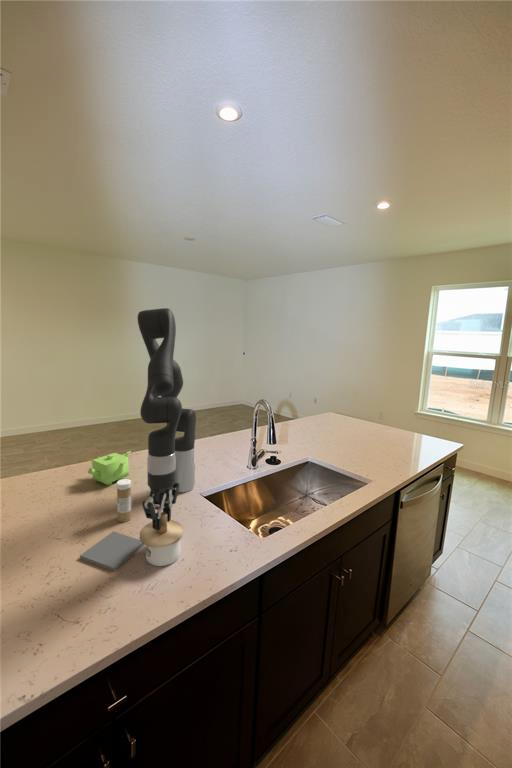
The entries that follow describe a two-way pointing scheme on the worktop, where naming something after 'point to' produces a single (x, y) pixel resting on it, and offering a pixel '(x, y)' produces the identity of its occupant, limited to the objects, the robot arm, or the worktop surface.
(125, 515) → the sprinkles bottle
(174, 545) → the mug
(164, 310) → the robot arm
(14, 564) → the worktop surface
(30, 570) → the worktop surface
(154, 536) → the lid
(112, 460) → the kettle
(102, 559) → the mat
